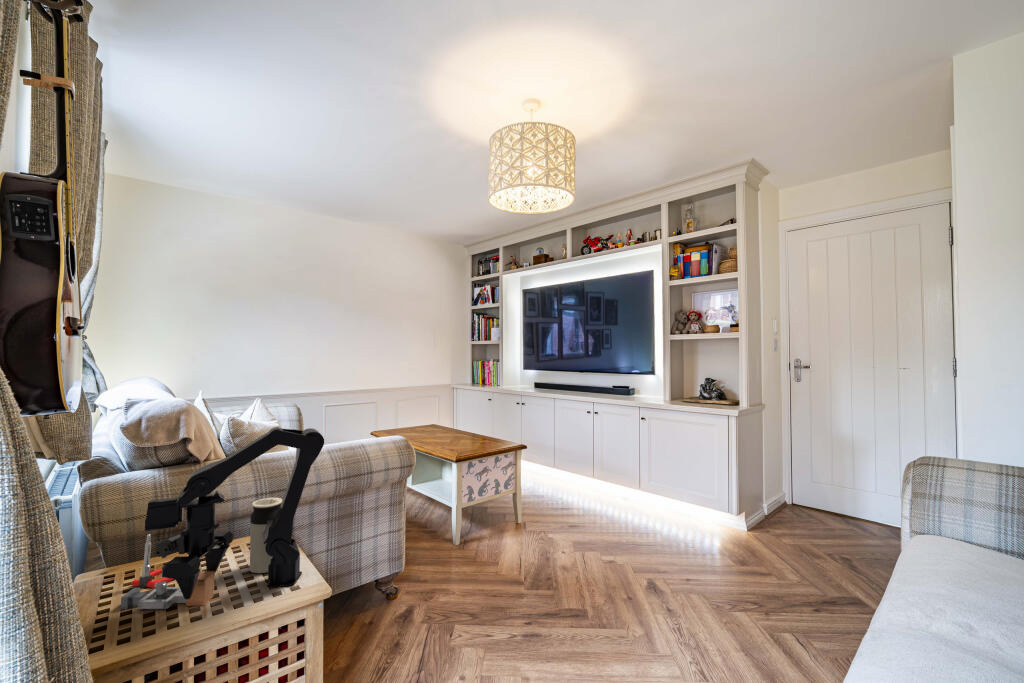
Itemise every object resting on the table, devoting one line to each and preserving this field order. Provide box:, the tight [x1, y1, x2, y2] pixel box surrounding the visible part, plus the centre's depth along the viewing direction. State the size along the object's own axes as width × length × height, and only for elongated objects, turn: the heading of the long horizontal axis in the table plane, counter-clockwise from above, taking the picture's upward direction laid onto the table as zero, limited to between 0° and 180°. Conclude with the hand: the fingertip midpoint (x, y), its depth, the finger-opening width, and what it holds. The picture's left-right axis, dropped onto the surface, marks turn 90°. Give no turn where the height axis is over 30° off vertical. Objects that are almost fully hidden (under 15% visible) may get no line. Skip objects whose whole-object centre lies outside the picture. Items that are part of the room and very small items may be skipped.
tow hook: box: [131, 533, 174, 589], centre depth 117 cm, size 8×13×9 cm
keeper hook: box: [120, 582, 168, 610], centre depth 105 cm, size 8×4×4 cm, turn 96°
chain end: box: [137, 570, 216, 610], centre depth 106 cm, size 14×6×6 cm, turn 96°
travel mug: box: [249, 497, 283, 574], centre depth 124 cm, size 8×8×18 cm
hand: (199, 588), depth 107 cm, fingers open, 9 cm apart
